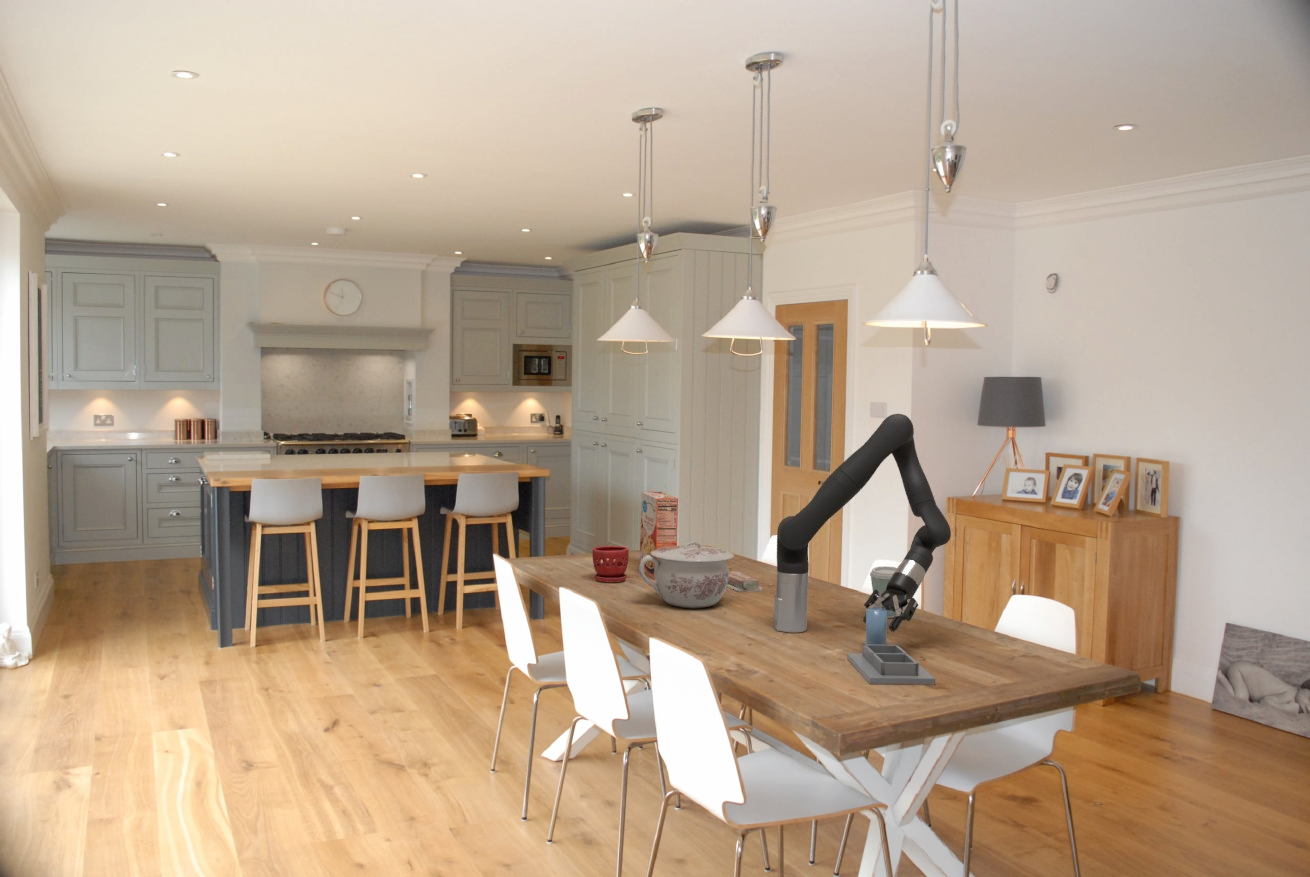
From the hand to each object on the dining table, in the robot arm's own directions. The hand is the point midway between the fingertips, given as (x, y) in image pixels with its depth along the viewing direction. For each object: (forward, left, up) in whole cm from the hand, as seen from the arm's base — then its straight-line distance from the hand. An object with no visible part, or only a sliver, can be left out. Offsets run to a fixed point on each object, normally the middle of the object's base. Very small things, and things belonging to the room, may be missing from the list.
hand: (878, 626), depth 261 cm
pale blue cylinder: (-1, 0, -7) cm, 7 cm away
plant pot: (-72, +95, -8) cm, 119 cm away
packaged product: (-25, +87, -8) cm, 91 cm away
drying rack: (-2, -16, -7) cm, 18 cm away
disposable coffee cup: (+15, +45, -8) cm, 48 cm away
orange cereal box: (-54, +109, -8) cm, 121 cm away
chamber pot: (-46, +58, -8) cm, 74 cm away
